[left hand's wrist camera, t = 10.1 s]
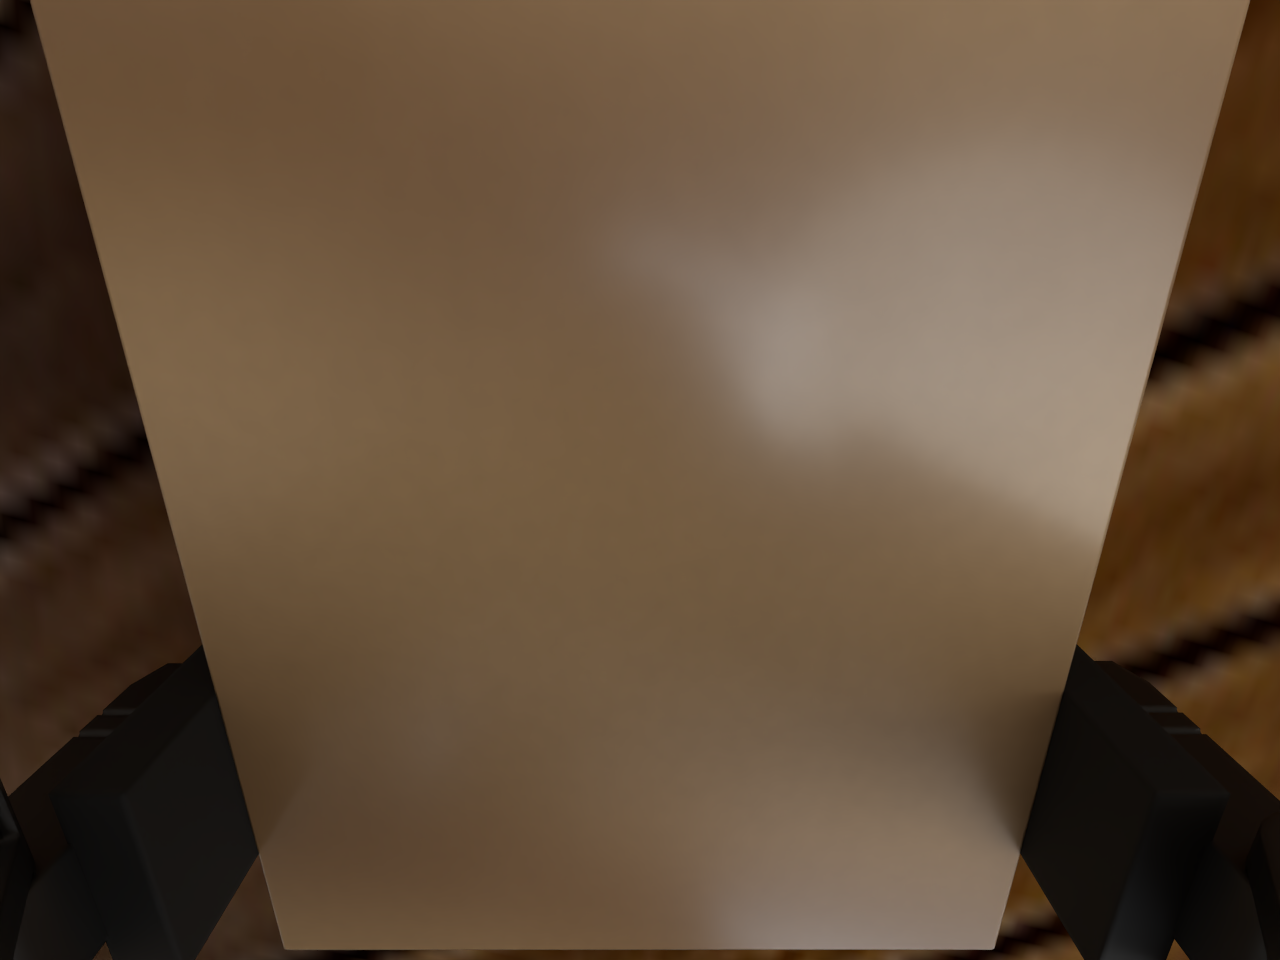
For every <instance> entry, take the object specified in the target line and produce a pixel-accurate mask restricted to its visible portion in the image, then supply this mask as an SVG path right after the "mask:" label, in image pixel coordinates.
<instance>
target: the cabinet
mask: <svg viewBox="0 0 1280 960" xmlns="http://www.w3.org/2000/svg"><path fill="white" fill-rule="evenodd" d="M1249 2H1250V0H30V3H31V6H32V10H33V14H34V17H35V21H36V25H37V29H38V32H39V36H40V40H41V44H42V47H43V51H44V55H45V58H46V62H47V66H48V70H49V73H50V77H51V81H52V85H53V88H54V92H55V96H56V100H57V103H58V107H59V111H60V114H61V118H62V122H63V126H64V129H65V133H66V137H67V141H68V144H69V148H70V152H71V155H72V159H73V163H74V167H75V170H76V174H77V178H78V182H79V185H80V189H81V193H82V197H83V200H84V204H85V208H86V211H87V215H88V219H89V223H90V226H91V230H92V234H93V238H94V241H95V245H96V249H97V253H98V256H99V260H100V264H101V267H102V271H103V275H104V279H105V282H106V286H107V290H108V294H109V297H110V301H111V305H112V308H113V312H114V316H115V320H116V323H117V327H118V331H119V335H120V338H121V342H122V346H123V350H124V353H125V357H126V361H127V364H128V368H129V372H130V376H131V379H132V383H133V387H134V391H135V394H136V398H137V402H138V405H139V409H140V413H141V417H142V420H143V424H144V428H145V432H146V435H147V439H148V443H149V447H150V450H151V454H152V458H153V461H154V465H155V469H156V473H157V476H158V480H159V484H160V488H161V491H162V495H163V499H164V503H165V506H166V510H167V514H168V517H169V521H170V525H171V529H172V532H173V536H174V540H175V544H176V547H177V551H178V555H179V558H180V562H181V566H182V570H183V573H184V577H185V581H186V585H187V588H188V592H189V596H190V600H191V603H192V607H193V611H194V614H195V618H196V622H197V626H198V629H199V633H200V637H201V641H202V644H203V648H204V652H205V655H206V659H207V663H208V667H209V670H210V674H211V678H212V682H213V685H214V689H215V693H216V697H217V700H218V704H219V708H220V711H221V715H222V719H223V723H224V726H225V730H226V734H227V738H228V741H229V745H230V749H231V753H232V756H233V760H234V764H235V767H236V771H237V775H238V779H239V782H240V786H241V790H242V794H243V797H244V801H245V805H246V808H247V812H248V816H249V820H250V823H251V827H252V831H253V835H254V838H255V842H256V846H257V850H258V853H259V857H260V861H261V864H262V868H263V872H264V876H265V879H266V883H267V887H268V891H269V894H270V898H271V902H272V905H273V909H274V913H275V917H276V920H277V924H278V928H279V932H280V935H281V939H282V943H283V947H284V949H286V950H992V949H994V948H995V944H996V941H997V937H998V933H999V929H1000V926H1001V922H1002V918H1003V915H1004V911H1005V907H1006V903H1007V900H1008V896H1009V892H1010V889H1011V885H1012V881H1013V877H1014V874H1015V870H1016V866H1017V863H1018V859H1019V855H1020V852H1021V848H1022V844H1023V840H1024V837H1025V833H1026V829H1027V826H1028V822H1029V818H1030V814H1031V811H1032V807H1033V803H1034V800H1035V796H1036V792H1037V788H1038V785H1039V781H1040V777H1041V774H1042V770H1043V766H1044V763H1045V759H1046V755H1047V751H1048V748H1049V744H1050V740H1051V737H1052V733H1053V729H1054V725H1055V722H1056V718H1057V714H1058V711H1059V707H1060V703H1061V699H1062V696H1063V692H1064V688H1065V685H1066V681H1067V677H1068V673H1069V670H1070V666H1071V662H1072V659H1073V655H1074V651H1075V648H1076V644H1077V640H1078V636H1079V633H1080V629H1081V625H1082V622H1083V618H1084V614H1085V610H1086V607H1087V603H1088V599H1089V596H1090V592H1091V588H1092V584H1093V581H1094V577H1095V573H1096V570H1097V566H1098V562H1099V559H1100V555H1101V551H1102V547H1103V544H1104V540H1105V536H1106V533H1107V529H1108V525H1109V521H1110V518H1111V514H1112V510H1113V507H1114V503H1115V499H1116V495H1117V492H1118V488H1119V484H1120V481H1121V477H1122V473H1123V469H1124V466H1125V462H1126V458H1127V455H1128V451H1129V447H1130V444H1131V440H1132V436H1133V432H1134V429H1135V425H1136V421H1137V418H1138V414H1139V410H1140V406H1141V403H1142V399H1143V395H1144V392H1145V388H1146V384H1147V380H1148V377H1149V373H1150V369H1151V366H1152V362H1153V358H1154V355H1155V351H1156V347H1157V343H1158V340H1159V336H1160V332H1161V329H1162V325H1163V321H1164V317H1165V314H1166V310H1167V306H1168V303H1169V299H1170V295H1171V291H1172V288H1173V284H1174V280H1175V277H1176V273H1177V269H1178V266H1179V262H1180V258H1181V254H1182V251H1183V247H1184V243H1185V240H1186V236H1187V232H1188V228H1189V225H1190V221H1191V217H1192V214H1193V210H1194V206H1195V202H1196V199H1197V195H1198V191H1199V188H1200V184H1201V180H1202V176H1203V173H1204V169H1205V165H1206V162H1207V158H1208V154H1209V151H1210V147H1211V143H1212V139H1213V136H1214V132H1215V128H1216V125H1217V121H1218V117H1219V113H1220V110H1221V106H1222V102H1223V99H1224V95H1225V91H1226V87H1227V84H1228V80H1229V76H1230V73H1231V69H1232V65H1233V62H1234V58H1235V54H1236V50H1237V47H1238V43H1239V39H1240V36H1241V32H1242V28H1243V24H1244V21H1245V17H1246V13H1247V10H1248V6H1249Z"/></svg>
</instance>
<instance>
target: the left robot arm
mask: <svg viewBox="0 0 1280 960" xmlns="http://www.w3.org/2000/svg"><path fill="white" fill-rule="evenodd" d="M258 854H259V853H258V850H257V846H256V842H255V838H254V835H253V831H252V827H251V823H250V820H249V816H248V812H247V808H246V805H245V801H244V797H243V794H242V790H241V786H240V782H239V779H238V775H237V771H236V767H235V764H234V760H233V756H232V753H231V749H230V745H229V741H228V738H227V734H226V730H225V726H224V723H223V719H222V715H221V711H220V708H219V704H218V700H217V697H216V693H215V689H214V685H213V682H212V678H211V674H210V670H209V667H208V663H207V659H206V655H205V652H204V648H203V644H202V645H201V646H200V647H199V648H198V649H197V650H196V651H195V652H194V653H193V654H192V655H191V656H190V657H189V658H188V659H187V660H186V661H185V662H184V663H168V664H166V665H164V666H163V667H161V668H159V669H157V670H156V671H154V672H152V673H151V674H149V675H147V676H145V677H144V678H142V679H140V680H138V681H137V682H135V683H133V684H131V685H130V686H129V687H128V688H127V689H126V690H125V691H124V692H122V693H121V694H120V695H119V696H118V697H117V698H116V699H115V700H114V701H113V702H111V703H110V704H109V705H108V706H107V707H106V708H105V709H104V710H103V714H102V715H97V716H96V717H95V718H94V719H93V720H92V721H91V722H90V723H88V724H87V725H86V726H85V727H84V728H83V729H82V730H81V731H80V734H79V737H73V738H72V739H71V740H70V741H69V742H68V743H67V744H65V745H64V746H63V747H62V748H61V749H60V750H59V751H58V752H57V753H56V754H55V755H53V756H52V757H51V758H50V759H49V760H48V761H47V762H46V763H45V764H44V765H42V766H41V767H40V768H39V769H38V770H37V771H36V772H35V773H34V774H33V775H32V776H30V777H29V778H28V779H27V780H26V781H25V782H24V783H23V784H22V785H21V786H19V787H18V788H17V789H16V790H15V791H14V792H13V793H12V794H11V795H10V796H9V797H8V796H7V794H6V791H5V789H4V786H3V784H2V782H1V779H0V960H92V959H93V958H94V957H95V955H96V954H97V953H98V951H99V950H100V948H101V947H102V946H103V944H104V943H105V942H106V943H107V946H108V948H109V951H110V954H111V956H112V959H113V960H195V959H196V957H197V955H198V954H199V952H200V950H201V949H202V947H203V945H204V944H205V942H206V940H207V939H208V937H209V935H210V934H211V932H212V930H213V929H214V927H215V925H216V924H217V922H218V921H219V919H220V917H221V916H222V914H223V912H224V911H225V909H226V907H227V906H228V904H229V902H230V901H231V899H232V897H233V896H234V894H235V892H236V891H237V889H238V887H239V886H240V884H241V882H242V881H243V879H244V877H245V876H246V874H247V872H248V871H249V869H250V867H251V866H252V864H253V862H254V861H255V859H256V857H257V856H258ZM1020 854H1021V855H1022V857H1023V859H1024V860H1025V862H1026V864H1027V865H1028V867H1029V869H1030V870H1031V872H1032V874H1033V875H1034V877H1035V879H1036V880H1037V882H1038V884H1039V885H1040V887H1041V889H1042V890H1043V892H1044V894H1045V895H1046V897H1047V899H1048V900H1049V902H1050V903H1051V905H1052V907H1053V908H1054V910H1055V912H1056V913H1057V915H1058V917H1059V918H1060V920H1061V922H1062V923H1063V925H1064V927H1065V928H1066V930H1067V932H1068V933H1069V935H1070V937H1071V938H1072V940H1073V942H1074V943H1075V945H1076V947H1077V948H1078V950H1079V952H1080V953H1081V955H1082V957H1083V958H1084V960H1166V959H1167V956H1168V953H1169V951H1170V948H1171V946H1172V943H1173V941H1174V939H1175V940H1176V942H1177V943H1178V944H1179V946H1180V947H1181V948H1182V950H1183V951H1184V952H1185V954H1186V955H1187V956H1188V958H1189V959H1190V960H1280V801H1279V800H1278V799H1277V798H1276V797H1275V796H1274V795H1273V794H1272V793H1270V792H1269V791H1268V790H1267V789H1266V788H1265V787H1264V786H1263V785H1262V784H1260V783H1259V782H1258V781H1257V780H1256V779H1255V778H1254V777H1253V776H1252V775H1251V774H1249V773H1248V772H1247V771H1246V770H1245V769H1244V768H1243V767H1242V766H1241V765H1240V764H1238V763H1237V762H1236V761H1235V760H1234V759H1233V758H1232V757H1231V756H1230V755H1229V754H1227V753H1226V752H1225V751H1224V750H1223V749H1222V748H1221V747H1220V746H1219V745H1217V744H1216V743H1215V742H1214V741H1213V740H1212V739H1211V738H1210V737H1209V736H1208V735H1206V734H1201V732H1200V728H1199V727H1198V726H1197V725H1195V724H1194V723H1193V722H1192V721H1191V720H1190V719H1189V718H1188V717H1187V716H1186V715H1184V714H1183V713H1178V712H1177V707H1176V706H1175V705H1173V704H1172V703H1171V702H1170V701H1169V700H1168V699H1167V698H1166V697H1165V696H1163V695H1162V694H1161V693H1160V692H1159V691H1158V690H1157V689H1156V688H1155V687H1154V686H1152V685H1151V684H1150V683H1149V682H1147V681H1146V680H1144V679H1142V678H1140V677H1139V676H1137V675H1135V674H1134V673H1132V672H1130V671H1128V670H1127V669H1125V668H1123V667H1121V666H1120V665H1118V664H1116V663H1114V662H1113V661H1093V660H1092V659H1091V658H1090V657H1089V656H1088V655H1087V654H1086V653H1085V652H1084V651H1083V650H1082V649H1081V648H1080V647H1079V646H1078V645H1077V644H1076V648H1075V651H1074V655H1073V659H1072V662H1071V666H1070V670H1069V673H1068V677H1067V681H1066V685H1065V688H1064V692H1063V696H1062V699H1061V703H1060V707H1059V711H1058V714H1057V718H1056V722H1055V725H1054V729H1053V733H1052V737H1051V740H1050V744H1049V748H1048V751H1047V755H1046V759H1045V763H1044V766H1043V770H1042V774H1041V777H1040V781H1039V785H1038V788H1037V792H1036V796H1035V800H1034V803H1033V807H1032V811H1031V814H1030V818H1029V822H1028V826H1027V829H1026V833H1025V837H1024V840H1023V844H1022V848H1021V852H1020Z"/></svg>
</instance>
